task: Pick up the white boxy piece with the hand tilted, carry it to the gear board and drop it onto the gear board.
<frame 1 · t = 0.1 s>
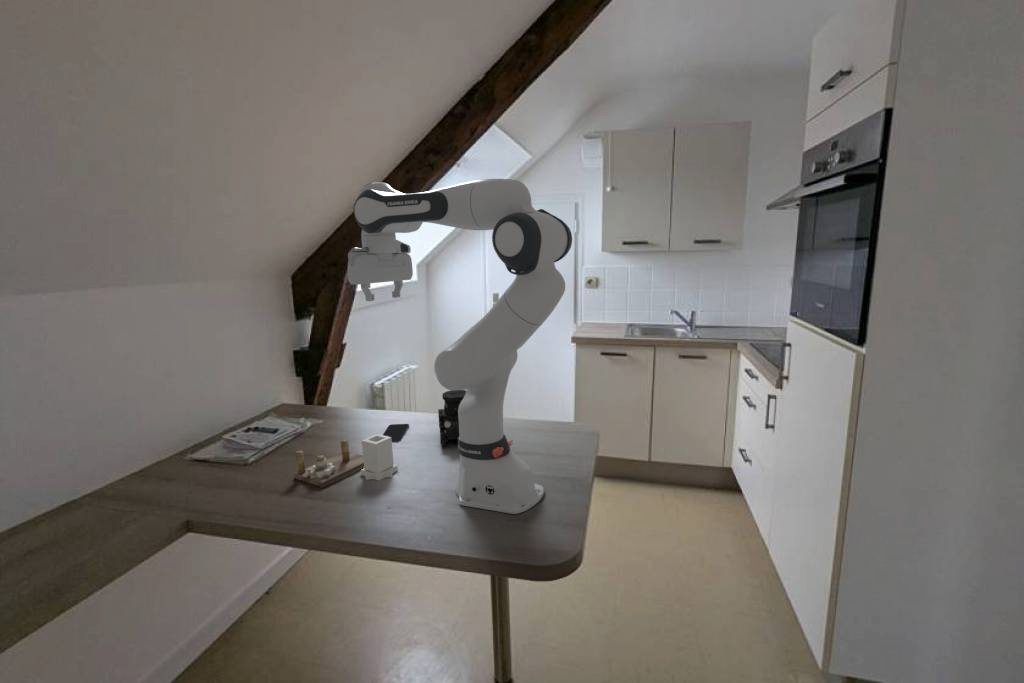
hand: (383, 299, 134), 48 cm above the breakfast bar, tool pointing down, fingers open, 8 cm apart
smartphone: (394, 435, 168), on the breakfast bar
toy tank: (458, 439, 162), on the breakfast bar
white boxy piece: (379, 472, 138), on the breakfast bar
gear board: (335, 470, 141), on the breakfast bar
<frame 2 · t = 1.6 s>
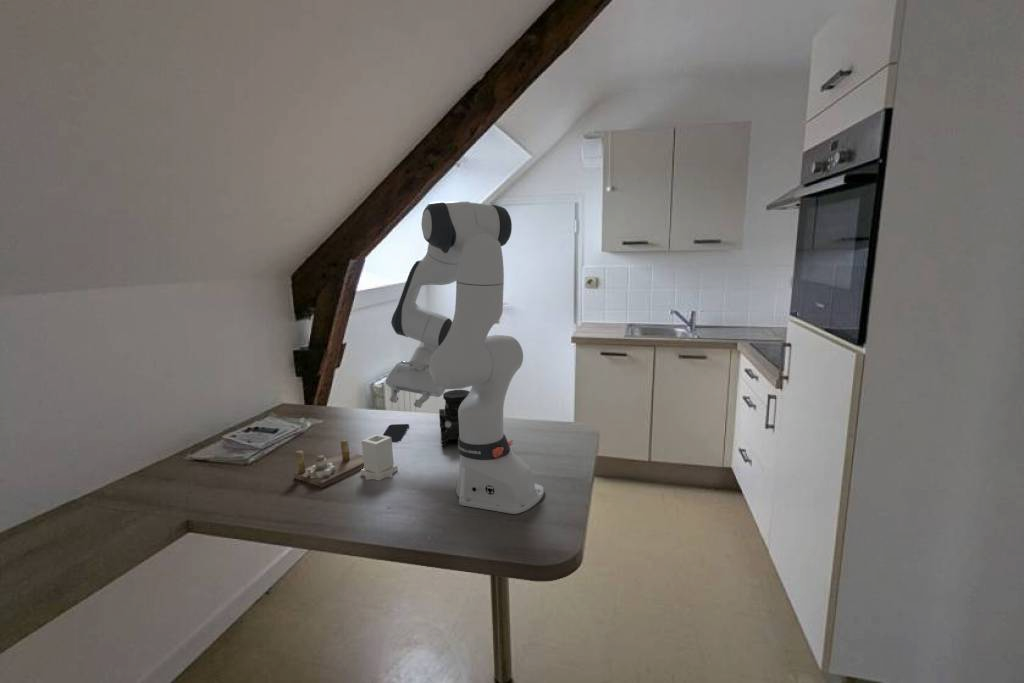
hand: (404, 404, 146), 16 cm above the breakfast bar, tool tilted 45°, fingers open, 8 cm apart
nothing on the breakfast bar moved.
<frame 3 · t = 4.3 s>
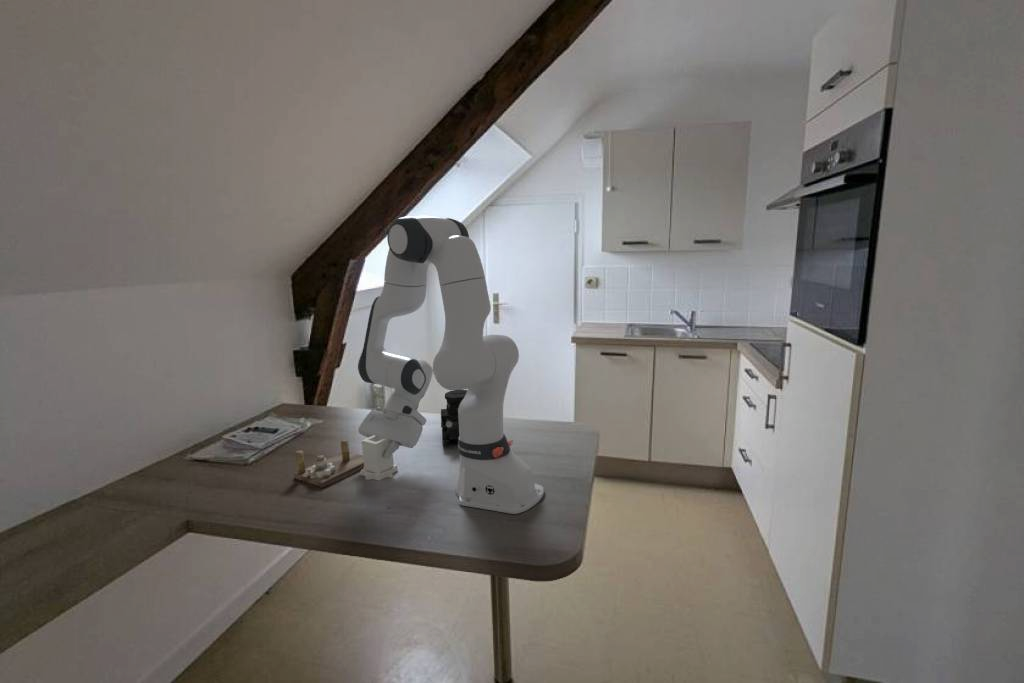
hand: (376, 455, 137), 5 cm above the breakfast bar, tool tilted 45°, fingers closed on white boxy piece, 6 cm apart
white boxy piece: (379, 472, 138), on the breakfast bar, touching gripper
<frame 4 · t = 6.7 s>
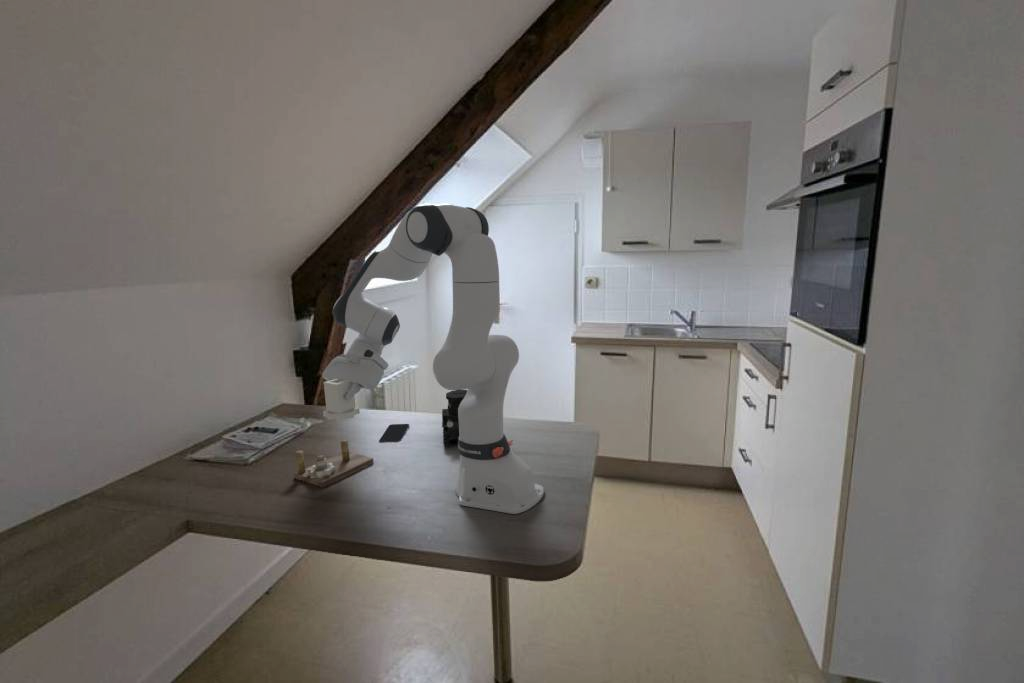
hand: (338, 397, 140), 21 cm above the breakfast bar, tool tilted 45°, fingers closed on white boxy piece, 6 cm apart
white boxy piece: (341, 414, 141), point 15 cm above the breakfast bar, touching gripper
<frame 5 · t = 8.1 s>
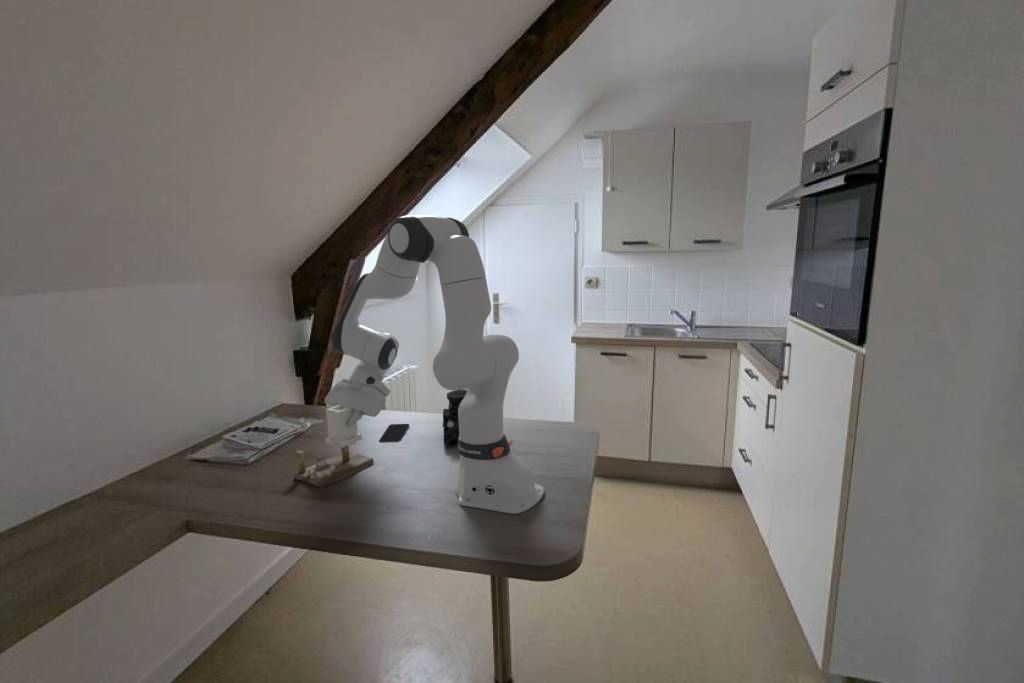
hand: (340, 424, 141), 13 cm above the breakfast bar, tool tilted 45°, fingers closed on white boxy piece, 6 cm apart
white boxy piece: (343, 441, 143), point 7 cm above the breakfast bar, touching gripper
when the fingers open (9 cm above the breakfast bar, at t = 9.3 s): white boxy piece drops 2 cm, resting on gear board.
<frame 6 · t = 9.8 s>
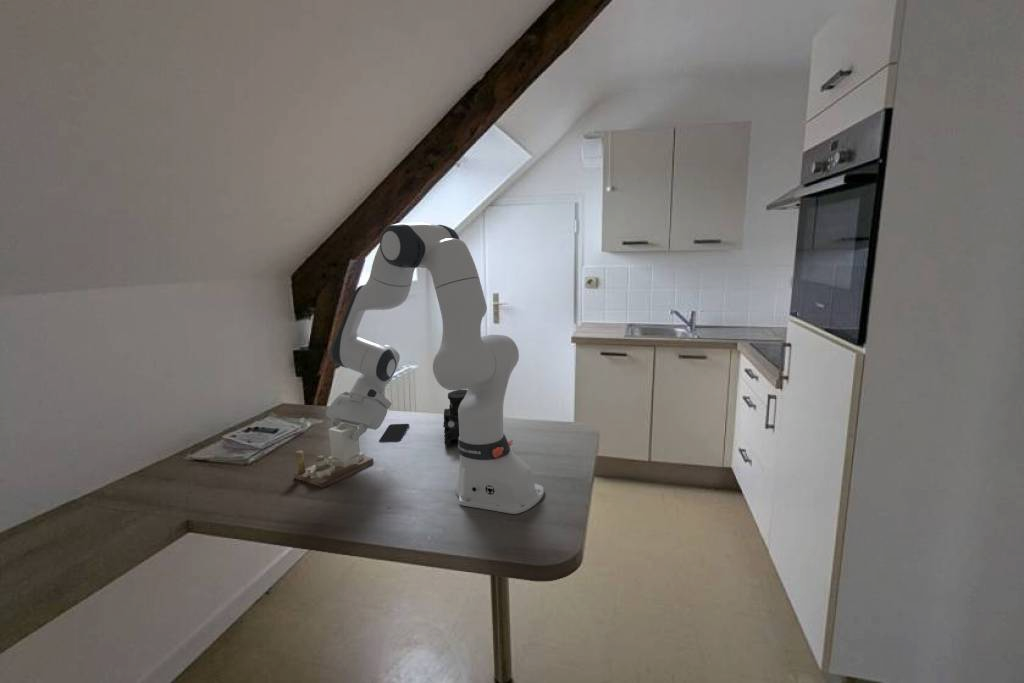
hand: (342, 437, 142), 9 cm above the breakfast bar, tool tilted 45°, fingers open, 8 cm apart
white boxy piece: (346, 460, 144), point 1 cm above the breakfast bar, touching gear board
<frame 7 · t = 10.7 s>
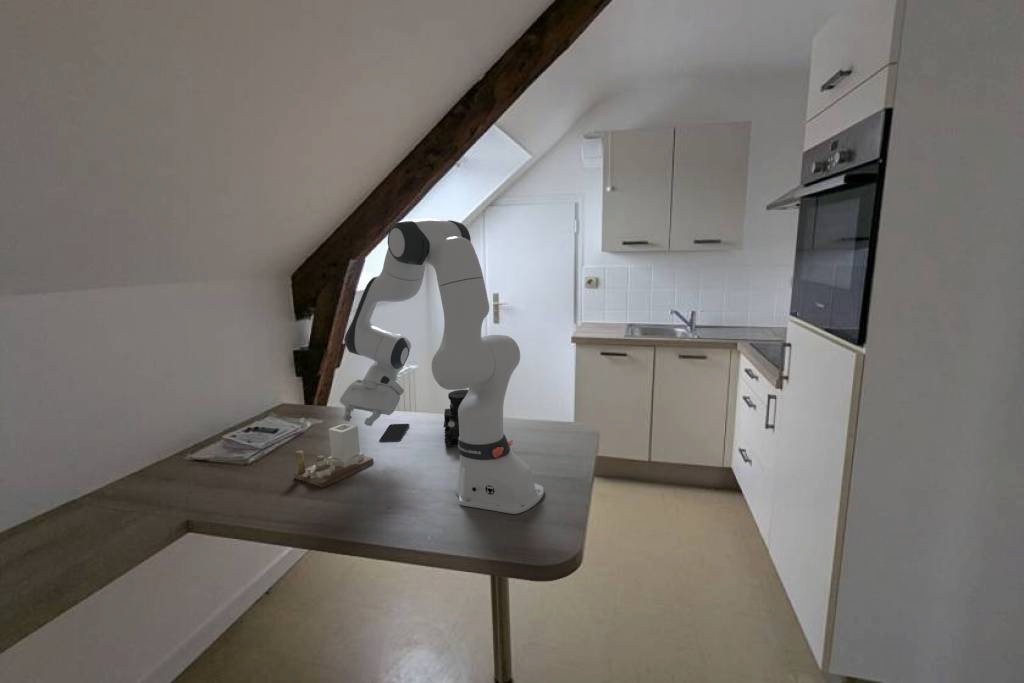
hand: (356, 422, 146), 11 cm above the breakfast bar, tool tilted 45°, fingers open, 8 cm apart
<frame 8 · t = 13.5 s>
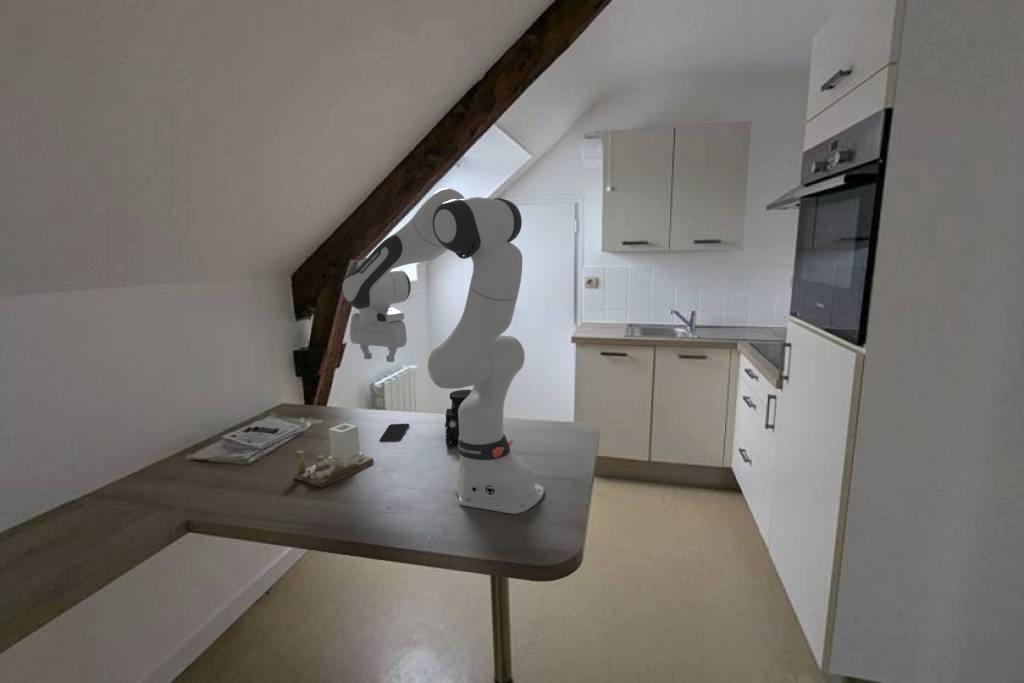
hand: (379, 360, 147), 29 cm above the breakfast bar, tool pointing down, fingers open, 8 cm apart
at the end: white boxy piece 0.1 cm from the target spot, point 1.5 cm above the breakfast bar; white boxy piece tilted 0°; the gripper is holding nothing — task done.
